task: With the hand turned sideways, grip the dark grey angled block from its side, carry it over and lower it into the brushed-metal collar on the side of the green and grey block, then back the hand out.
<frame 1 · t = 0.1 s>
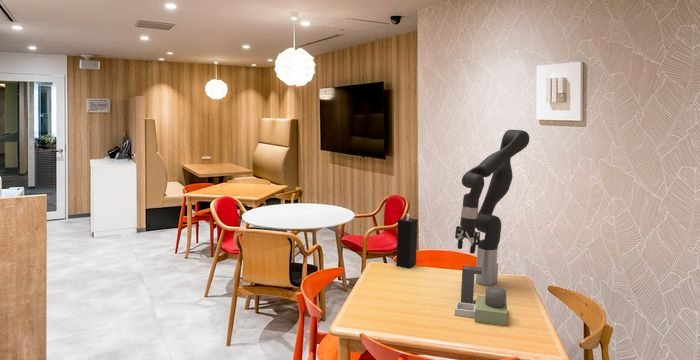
hand: (465, 250, 237), 17 cm above the table, tool pointing down, fingers open, 8 cm apart
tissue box: (406, 265, 270), on the table
green and grey block: (490, 315, 207), on the table
dark grey angled block: (466, 301, 222), on the table
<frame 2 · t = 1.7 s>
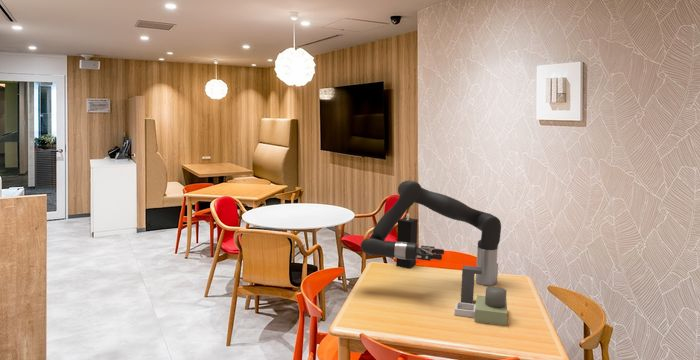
hand: (442, 254, 222), 20 cm above the table, tool horizontal, fingers open, 8 cm apart
nothing on the table moved.
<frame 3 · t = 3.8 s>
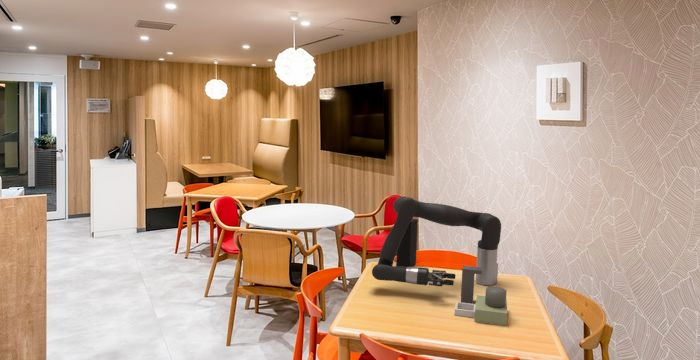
hand: (454, 279, 222), 9 cm above the table, tool horizontal, fingers open, 8 cm apart
nothing on the table moved.
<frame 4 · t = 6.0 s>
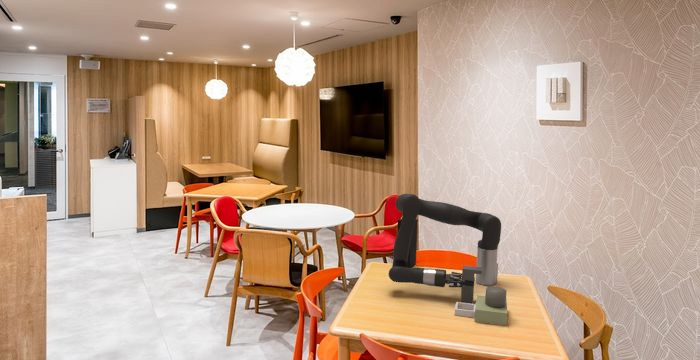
hand: (474, 281, 220), 9 cm above the table, tool horizontal, fingers closed on dark grey angled block, 5 cm apart
dark grey angled block: (466, 301, 222), on the table, touching gripper
everything else where it was.
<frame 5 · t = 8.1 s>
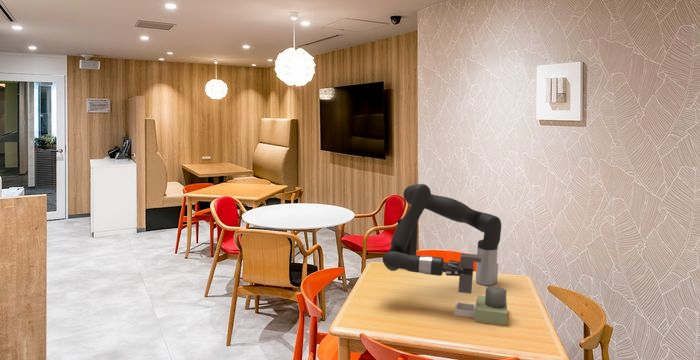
hand: (473, 270, 207), 18 cm above the table, tool horizontal, fingers closed on dark grey angled block, 5 cm apart
dark grey angled block: (465, 290, 209), point 9 cm above the table, touching gripper
everything else where it was.
when the fingers open (10 cm above the table, at t = 10.5 s): dark grey angled block drops 1 cm, resting in green and grey block.
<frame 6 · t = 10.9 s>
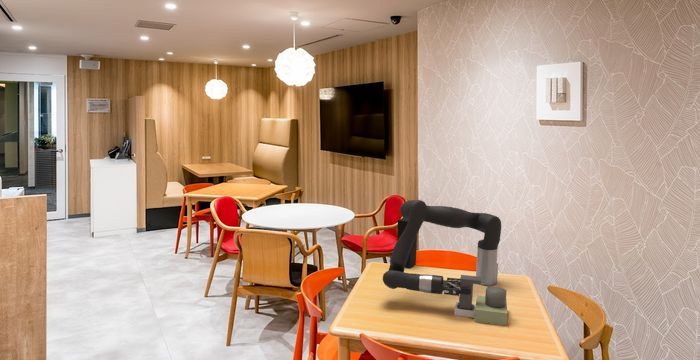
hand: (471, 288, 207), 10 cm above the table, tool horizontal, fingers open, 8 cm apart
dark grey angled block: (465, 312, 209), resting in green and grey block
everything else where it was.
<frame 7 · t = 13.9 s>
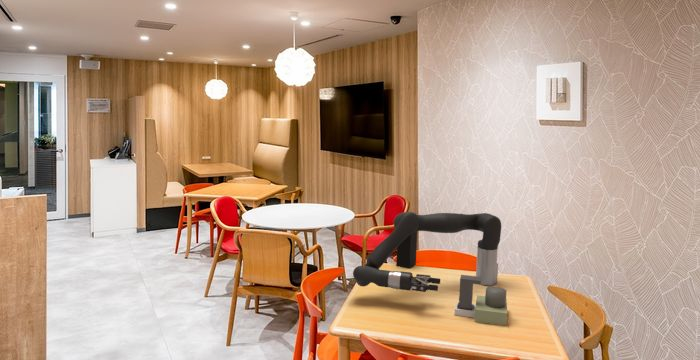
hand: (439, 284, 211), 11 cm above the table, tool horizontal, fingers open, 8 cm apart
nothing on the table moved.
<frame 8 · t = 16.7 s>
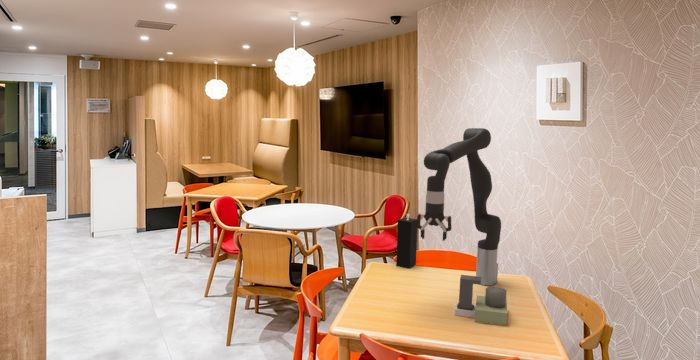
hand: (433, 239, 214), 28 cm above the table, tool pointing down, fingers open, 8 cm apart
nothing on the table moved.
at the end: dark grey angled block 0.1 cm from the target spot, resting in green and grey block; dark grey angled block tilted 0°; the gripper is holding nothing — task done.
